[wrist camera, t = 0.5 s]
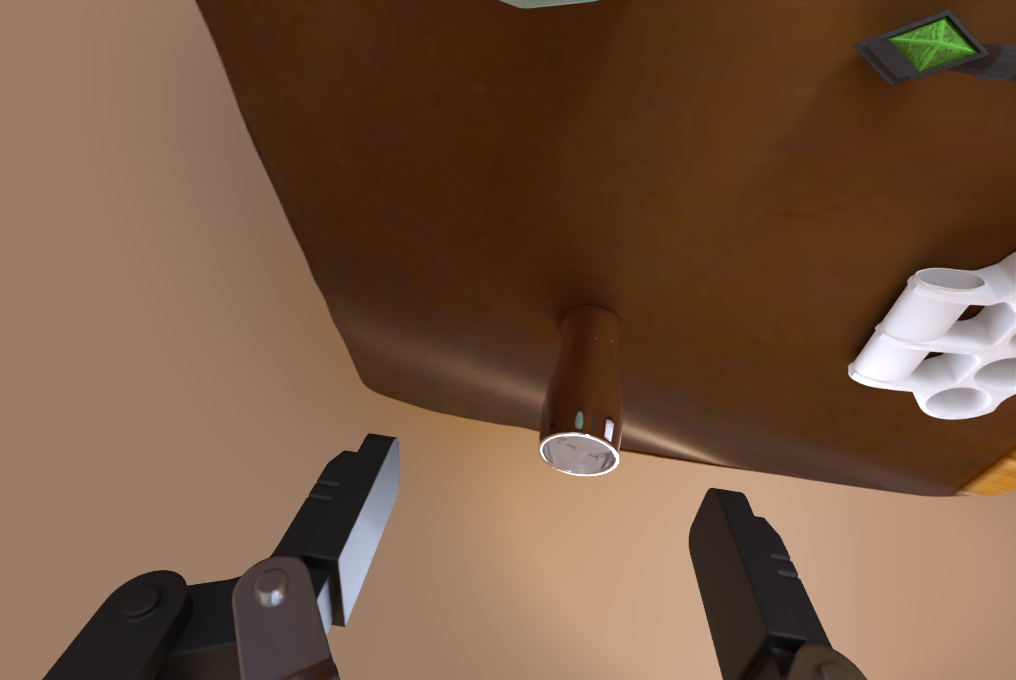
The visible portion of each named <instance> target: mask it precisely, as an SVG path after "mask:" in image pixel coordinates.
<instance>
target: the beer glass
mask: <svg viewBox="0 0 1016 680" xmlns="http://www.w3.org/2000/svg"><path fill="white" fill-rule="evenodd" d="M620 334H621V323H620V321H619V319H618V317H617V316H616V315H615V314H614V313H613V312H611V311H610V310H608V309H606V308H603V307H600V306H595V305H584V306H579V307H576V308H573V309H571V310H570V311H568V312H567V313H566V314H565V316H564V317H563V319H562V322H561V337H562V347H561V352H560V355H559V358H558V361H557V363H556V365H555V368H554V370H553V373H552V375H551V378H550V381H549V383H548V387H547V390H546V393H545V397H544V402H543V406H542V414H541V422H540V436H539V446H538V453H539V455H540V457H541V458H542V460H543V461H544V462H545V463H547V464H548V465H550V466H551V467H553V468H555V469H557V470H560V471H562V472H566V473H570V474H575V475H584V476H589V475H598V474H603V473H606V472H608V471H610V470H612V469H613V468H614V467H615V466H616V465H617V464H618V461H619V450H620V443H621V435H622V424H623V399H622V391H621V384H620V379H619V374H618V368H617V362H616V348H617V344H618V341H619V338H620Z"/></svg>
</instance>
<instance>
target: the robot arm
mask: <svg viewBox="0 0 1016 680" xmlns="http://www.w3.org/2000/svg"><path fill="white" fill-rule="evenodd" d="M398 485H399V441H398V438H396V437H390V436H383V435H377V434H368V435H367V436H366V438H365V439H364V441H363V443H362V445H361V447H360V449H359V450H358V452H352V451H343V452H342V453H340V454H339V455H338V456H337V457H335V458H334V459H333V460H331V461H330V462H329V463H328V464H327V465H326V467H325V469H324V470H323V472H322V474H321V475H320V477H319V478H318V480H317V484H315V485H314V487H313V488H312V490H311V492H310V493H309V497H308V498H306V500H305V502H304V503H303V505H302V507H301V508H300V510H299V512H298V513H297V515H296V517H295V518H294V520H293V522H292V523H291V525H290V526H289V528H288V530H287V532H286V533H285V535H284V536H283V538H282V540H281V541H280V543H279V544H278V546H277V548H276V549H275V551H274V552H273V554H272V555H271V556H270V557H269V558H267V559H265V560H262V561H260V562H258V563H257V564H255V565H253V566H252V567H251V568H249V569H248V570H247V571H246V572H245V573H244V574H243V575H242V576H240V577H237V578H234V579H229V580H223V581H216V582H209V583H203V584H195V585H188V586H187V584H186V582H185V580H184V578H183V577H182V576H181V575H180V574H178V573H176V572H173V571H168V570H160V571H153V572H149V573H146V574H142V575H140V576H137V577H135V578H133V579H131V580H130V581H128V582H126V583H125V584H123V585H122V586H120V587H119V588H118V589H117V590H115V591H114V592H113V593H112V594H111V595H110V596H109V597H108V598H107V599H106V600H105V602H104V603H103V604H102V605H101V607H100V608H99V609H98V610H97V612H96V613H95V614H94V615H93V617H92V618H91V619H90V621H89V622H88V623H87V624H86V625H85V627H84V628H83V629H82V630H81V632H80V633H79V634H78V635H77V637H76V638H75V639H74V640H73V642H72V643H71V644H70V646H69V647H68V648H67V649H66V650H65V652H64V653H63V654H62V656H61V657H60V658H59V659H58V660H57V662H56V663H55V664H54V665H53V667H52V668H51V669H50V670H49V672H48V673H47V674H46V676H45V677H44V678H43V679H42V680H340V677H339V674H338V670H337V667H336V665H335V663H334V662H333V659H332V656H331V652H330V648H329V644H328V641H327V637H326V635H327V633H328V630H329V628H330V626H331V625H336V626H342V627H345V626H346V624H347V621H348V618H349V616H350V613H351V611H352V609H353V606H354V603H355V601H356V598H357V596H358V593H359V591H360V588H361V586H362V583H363V581H364V578H365V576H366V573H367V571H368V568H369V566H370V563H371V560H372V558H373V556H374V553H375V550H376V548H377V545H378V543H379V540H380V538H381V535H382V533H383V530H384V528H385V525H386V522H387V520H388V518H389V515H390V513H391V510H392V508H393V505H394V502H395V499H396V495H397V491H398ZM689 550H690V555H691V559H692V562H693V567H694V570H695V574H696V578H697V582H698V586H699V589H700V593H701V597H702V601H703V605H704V609H705V613H706V616H707V620H708V624H709V628H710V632H711V636H712V640H713V643H714V647H715V651H716V655H717V659H718V663H719V666H720V670H721V674H722V678H723V680H867V679H866V677H865V676H864V675H863V673H862V672H861V671H860V670H859V669H858V668H857V667H856V665H854V664H853V663H852V662H851V661H850V660H849V659H848V658H846V657H845V656H844V655H842V654H841V653H839V652H838V651H836V650H834V649H833V648H832V646H831V644H830V642H829V640H828V638H827V636H826V633H825V631H824V629H823V627H822V625H821V623H820V621H819V618H818V616H817V614H816V612H815V610H814V608H813V605H812V603H811V601H810V599H809V597H808V595H807V593H806V590H805V588H804V586H803V584H802V582H801V580H800V579H798V573H797V571H796V569H795V567H794V565H793V563H792V562H791V561H790V556H789V554H788V552H787V550H786V547H785V545H784V544H783V541H782V539H781V537H780V536H779V534H778V533H777V532H776V531H775V530H774V529H773V528H772V526H771V525H770V524H769V523H768V522H767V521H766V520H765V518H762V517H756V516H754V514H753V512H752V509H751V507H750V505H749V502H748V500H747V498H746V496H745V495H744V494H743V493H741V492H735V491H729V490H722V489H716V488H710V489H709V490H708V491H707V493H706V495H705V497H704V499H703V501H702V503H701V506H700V508H699V510H698V512H697V515H696V517H695V519H694V521H693V523H692V526H691V529H690V533H689Z"/></svg>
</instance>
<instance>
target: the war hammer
mask: <svg viewBox="0 0 1016 680" xmlns="http://www.w3.org/2000/svg"><path fill="white" fill-rule="evenodd" d="M853 47H854V48H855V49H856V50H857V51H858V52H859V53H860V54H861V55H862V56H863V57H864V58H865V59H866V60H867V61H868V62H869V63H870V64H871V65H872V66H873V67H874V69H875V70H876V71H877V72H878V73H879V74H880V75H881V76H882V77H883V78H884V79H885V80H886V81H887V82H888V83H889V84H890V85H891V84H895V83H898V82H901V81H904V80H907V79H911V80H917V79H920V78H923V77H926V76H928V75H931V74H934V73H937V72H940V71H943V70H948V71H955V72H961V73H967V74H973V75H974V77H977V78H983V79H990V80H996V81H1001V80H1004V79H1005V80H1012V81H1016V46H1015V45H1008V44H1002V45H1000V46H998V45H992V44H985V43H979V42H978V41H977V40H976V38H975V37H974V36H973V35H972V34H971V33H970V32H969V31H968V30H967V29H966V28H965V27H964V25H963V24H962V23H961V22H960V21H959V20H958V19H957V18H956V17H955V16H954V15H953V14H952V12H951V11H950V10H946V11H943V12H941V13H938V14H935V15H933V16H930V17H927V18H925V19H922V20H919V21H917V22H914V23H911V24H909V25H906V26H903V27H900V28H898V29H895V30H892V31H890V32H887V33H884V34H882V35H879V36H876V37H874V38H871V39H869V40H866V41H863V42H861V43H858V44H855V45H853Z"/></svg>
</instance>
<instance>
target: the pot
mask: <svg viewBox="0 0 1016 680" xmlns="http://www.w3.org/2000/svg"><path fill="white" fill-rule="evenodd" d="M500 1H502V2H505V3H508V4H510V5H513V6H515V7H518V8H524V9H527V8H537V7H547V6H556V5H566V4H575V3H585V2H594V1H595V0H500ZM596 1H598V0H596Z"/></svg>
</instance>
